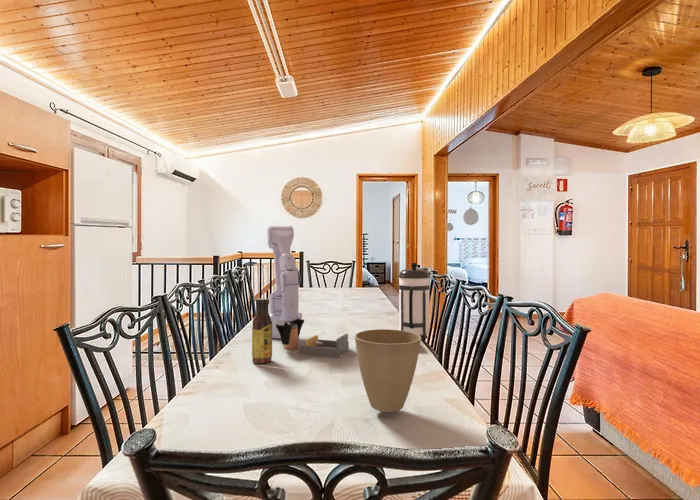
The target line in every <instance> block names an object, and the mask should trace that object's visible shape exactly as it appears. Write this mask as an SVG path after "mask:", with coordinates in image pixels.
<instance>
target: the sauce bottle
mask: <svg viewBox="0 0 700 500" xmlns="http://www.w3.org/2000/svg"><path fill="white" fill-rule="evenodd" d="M255 305H256V311H255V315H254V317H253V319H252V328H251V331H252V332H251V357H252V363H253V364H261V365H263V364H266V363H267V364H268V363H270V362H272V356H273V338H272V321H271V318H270V315H269V314H270V313H269V312H270V311H269V298H256V299H255Z"/></svg>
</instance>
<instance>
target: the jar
mask: <svg viewBox="0 0 700 500" xmlns="http://www.w3.org/2000/svg"><path fill="white" fill-rule="evenodd" d="M288 325H293V326H292V328H291V332H290V338H289V344H288V345H284V344H283V349H284V350H286V351H287V350H289V351H293V350H297V349H298V348H299V347H298V346H299V344H298V343H299V341H298V340H299V339H298V325H297V324H288Z"/></svg>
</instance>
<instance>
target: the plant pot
mask: <svg viewBox="0 0 700 500" xmlns="http://www.w3.org/2000/svg"><path fill="white" fill-rule="evenodd" d="M354 340H355V348H356V357H357V361H358V366H359V367H358V368H359V370H360V376H361V378H362V382H363V387H364V389H365V393H366V396H367V399H368V401H369V402H368V403H369V405H370V407H371V408H372V409H373V410H376V411H378V412H383V413H394V412H398V411H399V412H400V411H401V410H403V408H404V405H405V403H406V401H407V398H408V395H409V392H410V390H411V387H412V383H413V379H414V376H415V372H416V369H417V364H418V360H419V354H420V347H421V340H422V337H421V336H419V335H418V334H415V333H412V332H408V331H401V330H400V329H387V328H385V329H384V328H383V329H382V328H380V329H379V328H377V329H375V328H374V329H367V330H362V331H358V332H356V333H355V334H354Z"/></svg>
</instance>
